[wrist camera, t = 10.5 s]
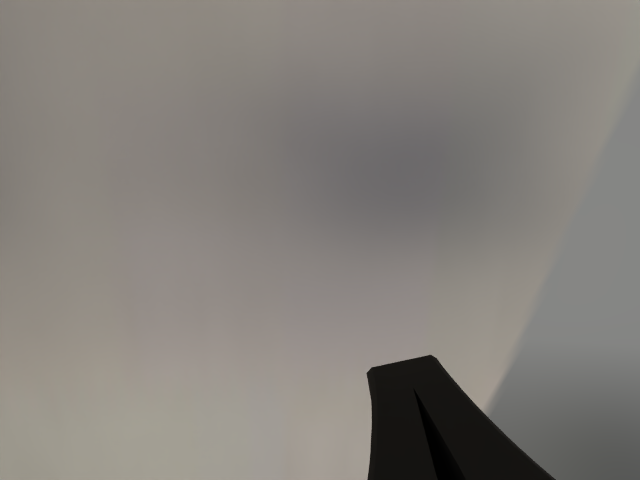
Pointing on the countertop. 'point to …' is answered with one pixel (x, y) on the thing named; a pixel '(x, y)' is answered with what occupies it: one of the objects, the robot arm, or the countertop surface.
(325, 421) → the countertop surface
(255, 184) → the countertop surface
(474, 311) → the countertop surface
